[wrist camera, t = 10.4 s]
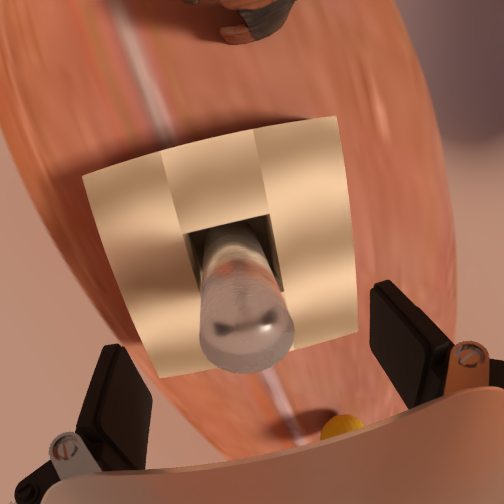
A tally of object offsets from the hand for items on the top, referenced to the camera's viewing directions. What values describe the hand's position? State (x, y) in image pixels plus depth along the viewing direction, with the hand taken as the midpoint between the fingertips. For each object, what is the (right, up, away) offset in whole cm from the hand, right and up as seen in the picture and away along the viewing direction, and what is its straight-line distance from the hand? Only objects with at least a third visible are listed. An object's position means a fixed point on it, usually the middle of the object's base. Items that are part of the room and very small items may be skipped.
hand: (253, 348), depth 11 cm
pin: (-2, +4, +13) cm, 14 cm away
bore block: (-2, +4, +14) cm, 15 cm away
